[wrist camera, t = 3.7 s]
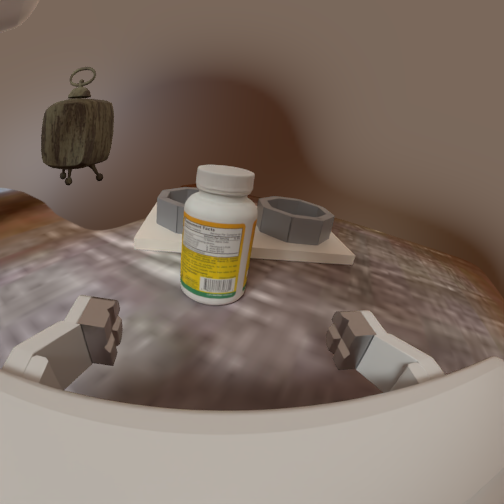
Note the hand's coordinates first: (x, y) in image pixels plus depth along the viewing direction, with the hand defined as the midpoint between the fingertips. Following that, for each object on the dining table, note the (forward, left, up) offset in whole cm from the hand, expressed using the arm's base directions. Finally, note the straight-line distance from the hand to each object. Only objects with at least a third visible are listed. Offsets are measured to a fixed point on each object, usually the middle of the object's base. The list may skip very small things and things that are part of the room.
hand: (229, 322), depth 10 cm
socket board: (+4, +26, -6) cm, 27 cm away
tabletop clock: (-30, +47, -6) cm, 56 cm away
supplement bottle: (0, +12, -6) cm, 13 cm away
